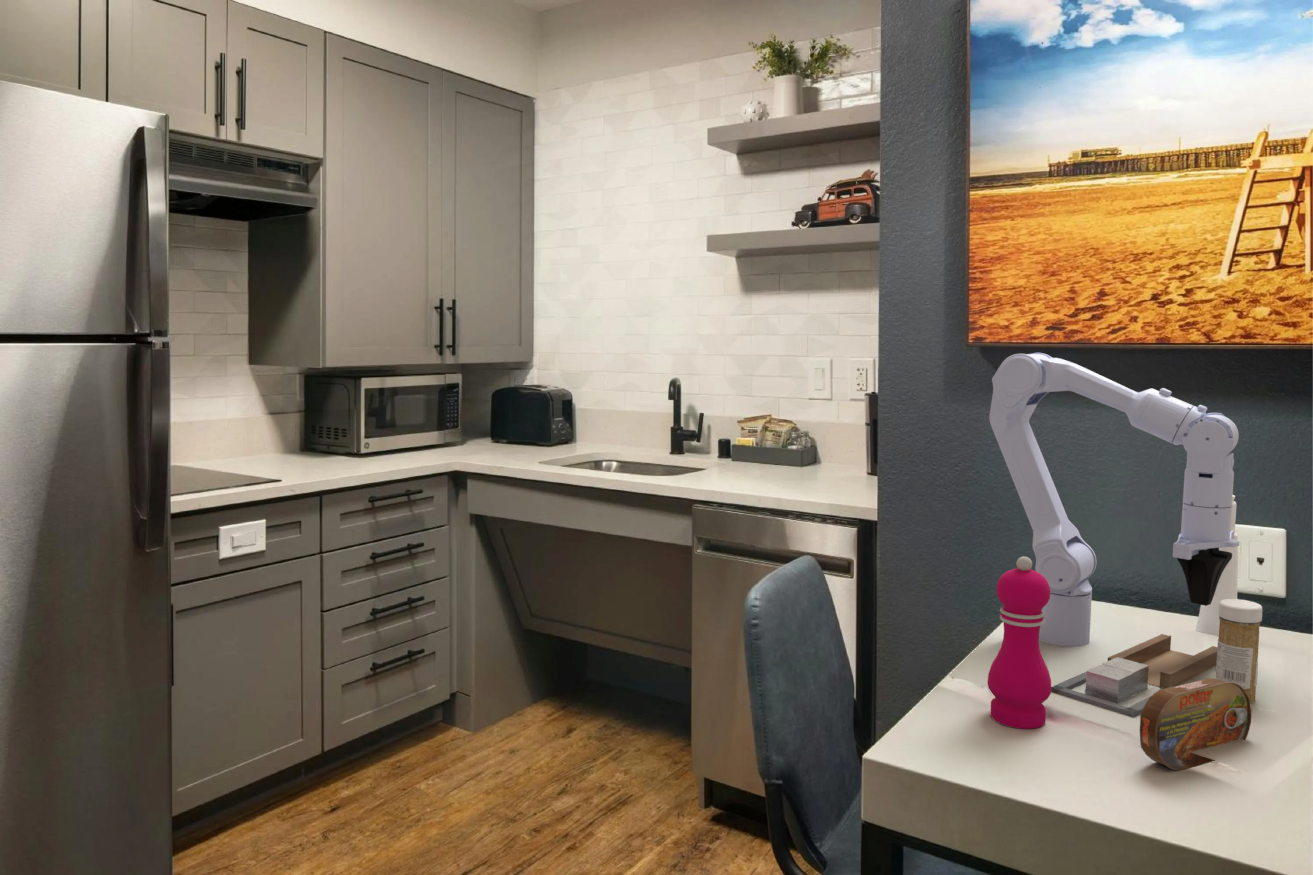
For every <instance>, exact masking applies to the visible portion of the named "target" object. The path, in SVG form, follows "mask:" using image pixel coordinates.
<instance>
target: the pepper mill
mask: <svg viewBox="0 0 1313 875" xmlns="http://www.w3.org/2000/svg"><path fill="white" fill-rule="evenodd" d="M1015 565H1016V568H1012V569H1010V570H1007V571H1005V572H1004V573H1002V574H1001V576H1000V577H999V579H998V580H997V584H996V595H997V598H998V600H999V601H1000V602H1001V604H1002V606H1001V607H1000V608H999V612H1000V615H999V620H1000V621H1002V623H1003V639H1002V643H1001V646H1000V649H999V651H998V652H997V654H996V656H995V658H994V659H993V661H992V663H991V665H990V669H989V671H988V675H987V687H988V689H989V691H990V693H991V694H992V695H993V696H994V698H992V699H991V700H990V712H989V713H990V717H991V718H992V719H993V720H994V721H995V722H996V723H998V724H1000V725H1003V726H1005V727H1010V728H1014V729H1022V730H1031V729H1038V728H1042V727H1043V726H1044V725H1045V724H1046V723H1047V722H1046V721H1047V720H1046V718H1047V707H1046V706H1045V705H1044V704H1043V703H1045V701H1047V700H1048V698H1049V697H1050V695H1051V694H1052V692H1051V691H1052V690H1051V687H1052V679H1051V675H1050V671H1049V669H1048V667H1047V664H1046V662H1045V660H1044V657H1043V654H1042V652H1041V647H1040V640H1039V631H1040V626H1041V625H1043V624H1044V622H1045V621H1044V616H1045V612H1044V611H1043V610H1042V608H1043V607H1044V606H1045V605H1046V604H1047V603H1048V601H1049V599H1050V587H1049V584H1048V582H1047V580H1046V578H1045V577H1044V576H1043V575H1041V574H1040V573H1038V572H1036V571H1035V570H1033V569H1032V567H1033V561H1032V559H1031V558H1030V557H1028V556H1021V557H1018V559H1017V560H1016V564H1015Z"/></svg>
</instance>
